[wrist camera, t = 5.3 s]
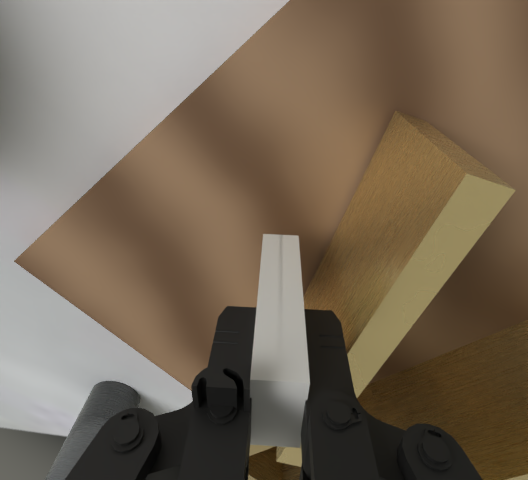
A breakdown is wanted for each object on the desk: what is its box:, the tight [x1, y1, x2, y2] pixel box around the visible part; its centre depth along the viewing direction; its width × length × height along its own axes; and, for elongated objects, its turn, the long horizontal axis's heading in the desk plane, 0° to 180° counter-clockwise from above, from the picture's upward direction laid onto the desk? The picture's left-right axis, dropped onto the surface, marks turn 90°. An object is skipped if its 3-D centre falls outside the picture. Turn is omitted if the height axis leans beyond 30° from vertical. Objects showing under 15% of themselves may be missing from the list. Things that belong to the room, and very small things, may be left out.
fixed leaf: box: [248, 320, 528, 480], centre depth 17 cm, size 21×7×6 cm, turn 129°
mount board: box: [14, 0, 528, 391], centre depth 18 cm, size 23×22×1 cm
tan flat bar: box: [276, 111, 516, 467], centre depth 14 cm, size 13×1×6 cm, turn 163°
